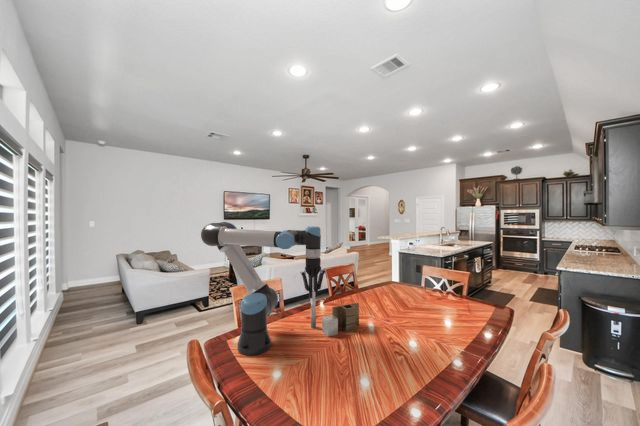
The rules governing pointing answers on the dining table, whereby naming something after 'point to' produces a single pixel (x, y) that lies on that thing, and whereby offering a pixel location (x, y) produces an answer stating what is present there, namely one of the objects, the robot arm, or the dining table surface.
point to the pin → (313, 315)
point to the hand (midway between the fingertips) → (312, 304)
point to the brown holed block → (348, 311)
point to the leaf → (335, 321)
